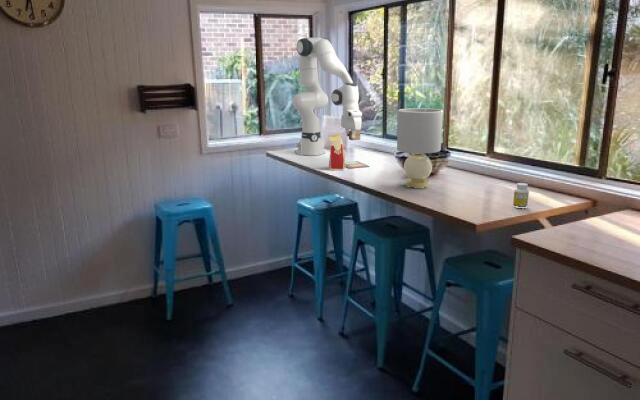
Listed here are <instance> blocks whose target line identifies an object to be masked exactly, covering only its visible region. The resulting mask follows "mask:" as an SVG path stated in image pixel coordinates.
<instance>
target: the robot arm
mask: <svg viewBox="0 0 640 400" xmlns="http://www.w3.org/2000/svg"><path fill="white" fill-rule="evenodd" d="M296 51H297V53H298V55H299V64H298V65H299V78H300V79H299V80H300V81H299V82H300V83H301V84H302V86H304V87H305V88H306V92H300V93H297V94H295V95H294V96H293V98H292V106H293V108H294V110H295V109H296V111H298V114H299V115H300V119H301V124H302V125H301V126H302V128H301V129H302V132H301V136H300V137H301V138H300V140H299V142H298V143H296V148H298V149H295V150H294V152H295V154H296V155H297V156H298V155H299V156H321V155H322V154H326V150H324V143H323V139H322V138H321V136H322V135H321V130H320V129H321V124H320V123H321V122H320V121H321V120H320V118H319V117H318V116H316V115H315V113H314V112H315V110H320V109H325V108H326V107H327V106H328V104H329V97H328V94H327V93H326V92H324V90H323V89H322V87H321V84H320V81H319V73H318V72H319V70H318V65H319V66H320V68H321V70H322V71H323V72H325V73H327V74H331V75H334V76H336V77H338V78H339V79H341V81H342V83H343V84H342V85H341V86H339V88H336V89H335V88H334V90H333V91H332V93H331V102H332V103H333V105H335V106H339V107H340V106H342V115H341V120H340V121H341V122H340V126H341V128H343V129H345V134H346V137H349V131H351V130H352V135H351V137H352V138H355V134H356V131H360V132H361V129H362V121H363V120H362V117H363V112H362V111H361V110H360V108H359V104H360V103H361V101H362V98H363V97H362V95H363V94H362V91H361V90H360V88H359V87H358V85H357V83H355V81H354V80H353V77H352V76H351V72H349V70H348V68H347V66H346V65H344V64H343V63H342V61H341V60H340V59H339V57H338V56H337V53H336V51H335V48H334V46H333V45H332V42H331V40H330V39H329V38H327V37H319V36H318V37H314V36H313V37H304V38H303V37H302V38H299V40H298V41H297V42H296Z"/></svg>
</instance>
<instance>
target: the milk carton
mask: <svg viewBox="0 0 640 400" xmlns="http://www.w3.org/2000/svg"><path fill="white" fill-rule="evenodd" d="M328 137H329V140H330V151H329V152H330V153H329V162H328V170H330V171H345V169H346V167H345V162H346V155H345V148H344V143H343V140H342V132H339V133H336V134H332V135H331V134H330V135H328Z"/></svg>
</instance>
